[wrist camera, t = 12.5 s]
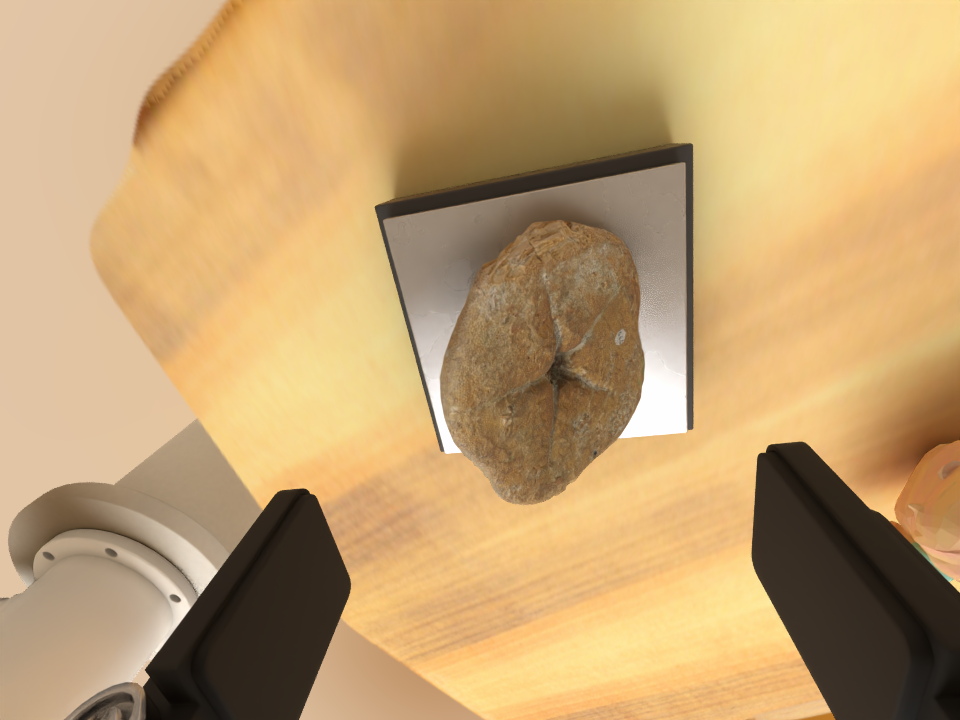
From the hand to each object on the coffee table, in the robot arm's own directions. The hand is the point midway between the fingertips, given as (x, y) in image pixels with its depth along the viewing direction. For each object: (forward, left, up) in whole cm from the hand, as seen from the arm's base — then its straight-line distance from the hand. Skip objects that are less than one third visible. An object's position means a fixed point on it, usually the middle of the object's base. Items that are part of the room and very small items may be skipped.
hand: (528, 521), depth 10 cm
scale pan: (+1, 0, -11) cm, 11 cm away
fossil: (+1, 0, -10) cm, 10 cm away
